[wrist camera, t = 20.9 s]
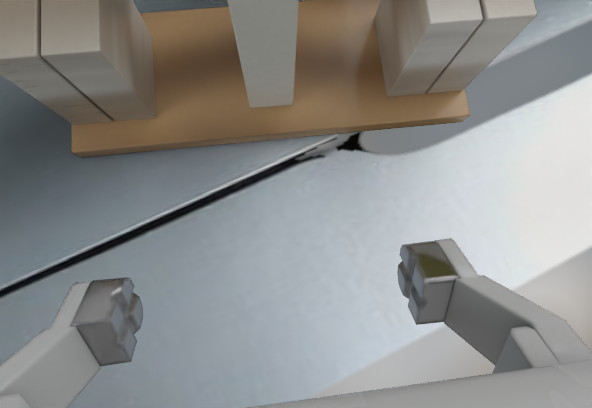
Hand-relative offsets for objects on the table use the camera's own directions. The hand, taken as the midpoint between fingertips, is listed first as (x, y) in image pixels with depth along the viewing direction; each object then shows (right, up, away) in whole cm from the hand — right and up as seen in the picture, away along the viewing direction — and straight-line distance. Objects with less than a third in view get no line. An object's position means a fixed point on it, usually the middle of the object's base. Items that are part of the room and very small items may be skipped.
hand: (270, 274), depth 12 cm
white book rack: (-1, +10, +11) cm, 15 cm away
